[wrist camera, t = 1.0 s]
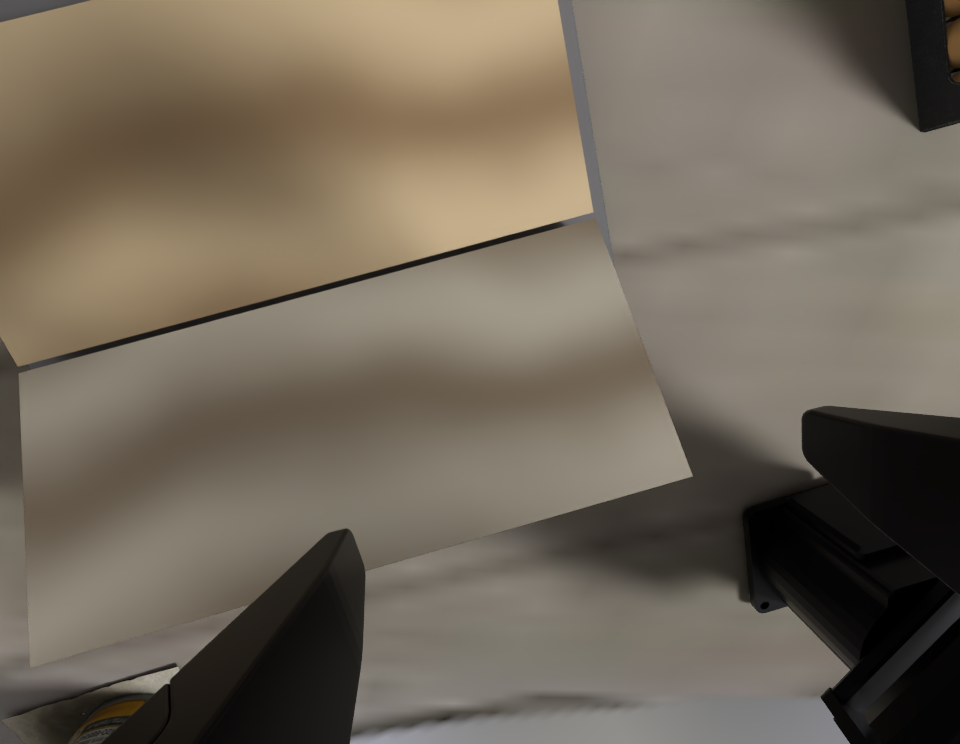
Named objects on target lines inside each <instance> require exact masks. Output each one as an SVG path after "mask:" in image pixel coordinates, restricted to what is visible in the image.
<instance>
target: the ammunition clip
mask: <svg viewBox="0 0 960 744" xmlns="http://www.w3.org/2000/svg"><path fill="white" fill-rule="evenodd" d="M906 9H907V18H908V27H909V36H910V45H911V54H912V63H913V72H914V81H915V90H916V99H917V108H918V117H919V126H920V131H921V132H928V131H932V130H935V129H939V128H943V127H946V126H950V125H954V124H957V123H960V0H906Z"/></svg>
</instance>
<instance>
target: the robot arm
mask: <svg viewBox="0 0 960 744" xmlns="http://www.w3.org/2000/svg"><path fill="white" fill-rule="evenodd" d="M802 451H803V454H804V456H805V458H806V460H807V461H808V462H809V463H810V464H811V465H812V466H813V467H814V468H815V469H816V470H817V471H818V472H819V473H820V474H821V475H822V476H823V477H824V478H825V479H826V480H827V481H828V482H829V483H830V484H827V485H824V486H821V487H817V488H814V489H810V490H807V491H804V492H800V493H797V494H793V495H790V496H786V497H783V498H780V499H776V500H773V501H769V502H766V503H762V504H759V505H756V506H752V507H750V508H748V509H747V510H746V511H745V512H744V514H743V523H744V533H745V544H746V555H747V566H748V576H749V587H750V598H751V604H752V606H753V607H754V608H755V609H756V610H757V611H758V612H759V613H766V612H770V611H773V610H776V609H780V608H783V607H786V606H788V607H789V608H790V609H791V610H792V611H793V612H794V613H795V614H796V615H797V616H798V617H799V618H800V619H801V620H802V621H803V622H804V623H805V624H806V625H807V626H808V627H809V628H810V629H811V630H812V631H813V632H814V633H815V634H816V635H817V636H818V637H819V638H820V640H821V641H822V642H823V643H824V644H825V645H826V646H827V647H828V648H829V649H830V650H831V651H832V652H833V653H834V654H835V655H836V656H837V657H838V658H839V659H840V660H841V661H842V662H843V663H844V664H845V665H846V666H847V667H848V668H849V669H850V671H849V672H848V673H847V674H846V675H845V676H844V677H843V678H842V679H841V680H840V681H839V682H838V683H837V684H836V686H835V687H834V688H833V689H832V688H828V689H827V690H826V691H825V692H824V693H823V695H822V696H821V699H822V700H823V702H824V703H825V704H826V706H827V707H828V709H829V710H830V712H831V713H832V715H833V716H834V718H833V719H834V721H835V722H836V724H837V725H838V727H839V728H840V730H841V731H842V733H843V734H844V735H845V737H846V738H847V740H848V741H849V743H850V744H960V418H956V417H945V416H934V415H923V414H912V413H901V412H890V411H880V410H869V409H858V408H847V407H836V406H822V407H818V408H815V409H811V410H808V411H806V412H805V413H804V414H803V416H802ZM755 516H756V518H754V517H755ZM364 601H365V567H364V563H363V560H362V558H361V555H360V552H359V549H358V546H357V544H356V541H355V538H354V535H353V533H352V532H351V530H350V529H348V528H345V529H341V530H337V531H333V532H329V533H327V534H326V535H325V536H324V537H323V538H321V539H320V540H319V541H318V542H317V543H316V544H315V545H314V546H313V547H312V548H311V549H310V550H309V551H307V552H306V553H305V554H304V555H303V556H302V557H301V558H300V559H299V560H298V561H297V562H296V563H295V564H294V565H292V566H291V567H290V568H289V569H288V570H287V571H286V572H285V573H284V574H283V575H282V576H281V577H280V578H278V579H277V580H276V581H275V582H274V583H273V584H272V585H271V586H270V587H269V588H268V589H267V590H266V591H264V592H263V593H262V594H261V595H260V596H259V597H258V598H257V599H256V600H255V601H254V602H253V603H252V604H251V605H249V606H248V607H247V608H246V609H245V610H244V611H243V612H242V613H241V614H240V615H239V616H238V617H237V618H235V619H234V620H233V621H232V622H231V623H230V624H229V625H228V626H227V627H226V628H225V629H224V630H223V631H222V632H220V633H219V634H218V635H217V636H216V637H215V638H214V639H213V640H212V641H211V642H210V643H209V644H208V645H206V646H205V647H204V648H203V649H202V650H201V651H200V652H199V653H198V654H197V655H196V656H195V657H194V658H193V659H191V660H190V661H189V662H188V663H187V664H186V665H185V666H184V667H183V668H182V669H181V670H180V671H179V672H177V673H176V674H175V675H174V676H173V677H172V678H171V679H170V682H169V683H170V684H165V685H163V686H162V687H161V688H160V689H159V690H158V691H157V692H156V693H155V694H154V695H153V696H152V697H150V698H149V699H148V700H147V701H146V702H145V703H144V704H143V705H142V706H141V707H140V708H139V709H138V710H136V711H135V712H134V713H133V714H132V715H131V716H130V717H129V718H128V719H127V720H125V721H124V722H123V723H122V724H121V725H120V726H119V727H118V728H117V729H116V730H114V731H113V732H112V733H111V734H110V735H109V736H108V737H107V738H106V739H104V740H103V741H102V742H101V743H100V744H350V737H351V730H352V723H353V717H354V710H355V703H356V697H357V690H358V683H359V676H360V669H361V661H362V650H363V628H364Z"/></svg>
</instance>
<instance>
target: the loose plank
mask: <svg viewBox="0 0 960 744" xmlns="http://www.w3.org/2000/svg"><path fill="white" fill-rule="evenodd" d="M19 396H20V421H21V446H22V471H23V496H24V521H25V546H26V571H27V596H28V621H29V647H30V668H32V667H35V666H38V665H42V664H45V663H49V662H52V661H56V660H59V659H63V658H66V657H70V656H73V655H77V654H80V653H83V652H87V651H90V650H94V649H97V648H101V647H104V646H108V645H111V644H115V643H118V642H122V641H125V640H128V639H132V638H135V637H139V636H142V635H146V634H149V633H153V632H156V631H160V630H163V629H166V628H170V627H173V626H177V625H180V624H184V623H187V622H191V621H194V620H198V619H201V618H205V617H208V616H211V615H215V614H218V613H222V612H225V611H229V610H232V609H236V608H239V607H243V606H246V605H250V604H252V603H253V602H254V601H255V600H256V599H257V598H258V597H259V596H260V595H261V594H262V593H263V592H264V591H266V590H267V589H268V588H269V587H270V586H271V585H272V584H273V583H274V582H275V581H276V580H277V579H278V578H280V577H281V576H282V575H283V574H284V573H285V572H286V571H287V570H288V569H289V568H290V567H291V566H292V565H294V564H295V563H296V562H297V561H298V560H299V559H300V558H301V557H302V556H303V555H304V554H305V553H306V552H307V551H309V550H310V549H311V548H312V547H313V546H314V545H315V544H316V543H317V542H318V541H319V540H320V539H321V538H323V537H324V536H325V535H326V534H327V533H329V532H333V531H337V530H341V529H345V528H348V529H350V530H351V532H352V533H353V535H354V538H355V541H356V544H357V546H358V549H359V552H360V555H361V558H362V560H363V563H364V567H365V571H367V570H371V569H374V568H378V567H381V566H384V565H388V564H391V563H395V562H398V561H402V560H405V559H409V558H412V557H416V556H419V555H422V554H426V553H429V552H433V551H436V550H440V549H443V548H447V547H450V546H454V545H457V544H461V543H464V542H467V541H471V540H474V539H478V538H481V537H485V536H488V535H492V534H495V533H499V532H502V531H506V530H509V529H512V528H516V527H519V526H523V525H526V524H530V523H533V522H537V521H540V520H544V519H547V518H550V517H554V516H557V515H561V514H564V513H568V512H571V511H575V510H578V509H582V508H585V507H589V506H592V505H595V504H599V503H602V502H606V501H609V500H613V499H616V498H620V497H623V496H627V495H630V494H634V493H637V492H640V491H644V490H647V489H651V488H654V487H658V486H661V485H665V484H668V483H672V482H675V481H678V480H682V479H685V478H689V477H692V476H693V475H692V473H691V470H690V467H689V465H688V462H687V459H686V457H685V454H684V451H683V449H682V446H681V443H680V441H679V438H678V435H677V433H676V430H675V427H674V425H673V422H672V420H671V417H670V414H669V412H668V409H667V406H666V404H665V401H664V398H663V396H662V393H661V390H660V388H659V385H658V382H657V380H656V377H655V374H654V372H653V369H652V367H651V364H650V361H649V359H648V356H647V353H646V351H645V348H644V345H643V343H642V340H641V337H640V335H639V332H638V329H637V327H636V324H635V321H634V319H633V316H632V314H631V311H630V308H629V306H628V303H627V300H626V298H625V295H624V292H623V290H622V287H621V284H620V282H619V279H618V276H617V274H616V271H615V268H614V266H613V263H612V260H611V258H610V255H609V253H608V250H607V247H606V245H605V242H604V239H603V237H602V234H601V231H600V229H599V226H598V223H597V221H596V218H594V219H590V220H586V221H583V222H579V223H575V224H572V225H568V226H564V227H560V228H557V229H553V230H549V231H546V232H542V233H538V234H534V235H531V236H527V237H523V238H520V239H516V240H512V241H508V242H505V243H501V244H497V245H494V246H490V247H486V248H482V249H479V250H475V251H471V252H467V253H464V254H460V255H456V256H453V257H449V258H445V259H441V260H438V261H434V262H430V263H427V264H423V265H419V266H415V267H412V268H408V269H404V270H401V271H397V272H393V273H389V274H386V275H382V276H378V277H375V278H371V279H367V280H363V281H360V282H356V283H352V284H348V285H345V286H341V287H337V288H334V289H330V290H326V291H322V292H319V293H315V294H311V295H308V296H304V297H300V298H296V299H293V300H289V301H285V302H282V303H278V304H274V305H270V306H267V307H263V308H259V309H256V310H252V311H248V312H244V313H241V314H237V315H233V316H229V317H226V318H222V319H218V320H215V321H211V322H207V323H203V324H200V325H196V326H192V327H189V328H185V329H181V330H177V331H174V332H170V333H166V334H163V335H159V336H155V337H151V338H148V339H144V340H140V341H137V342H133V343H129V344H125V345H122V346H118V347H114V348H110V349H107V350H103V351H99V352H96V353H92V354H88V355H84V356H81V357H77V358H73V359H70V360H66V361H62V362H58V363H55V364H51V365H47V366H44V367H40V368H36V369H32V370H29V371H25V372H21V373H19Z"/></svg>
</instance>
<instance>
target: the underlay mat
mask: <svg viewBox="0 0 960 744" xmlns="http://www.w3.org/2000/svg"><path fill="white" fill-rule="evenodd" d="M86 1H90V0H0V22H4V21H8V20H13V19H17V18H21V17H25V16H29V15H33V14H37V13H41V12H45V11H49V10H53V9H57V8H62V7H66V6H70V5H74V4H78V3H82V2H86ZM558 6H559V11H560V17H561V23H562V29H563V35H564V41H565V47H566V53H567V59H568V65H569V71H570V76H571V82H572V88H573V94H574V100H575V106H576V112H577V118H578V124H579V130H580V136H581V141H582V147H583V153H584V159H585V165H586V171H587V177H588V183H589V189H590V195H591V201H592V206H593V213H589V214H585V215H582V216H578V217H574V218H570V219H567V220H563V221H559V222H556V223H552V224H548V225H544V226H541V227H537V228H533V229H529V230H526V231H522V232H518V233H515V234H511V235H507V236H503V237H500V238H496V239H492V240H488V241H485V242H481V243H477V244H474V245H470V246H466V247H462V248H459V249H455V250H451V251H447V252H444V253H440V254H436V255H433V256H429V257H425V258H421V259H418V260H414V261H410V262H407V263H403V264H399V265H395V266H392V267H388V268H384V269H380V270H377V271H373V272H369V273H366V274H362V275H358V276H354V277H351V278H347V279H343V280H339V281H336V282H332V283H328V284H325V285H321V286H317V287H313V288H310V289H306V290H302V291H298V292H295V293H291V294H287V295H284V296H280V297H276V298H272V299H269V300H265V301H261V302H258V303H254V304H250V305H246V306H243V307H239V308H235V309H231V310H228V311H224V312H220V313H217V314H213V315H209V316H205V317H202V318H198V319H194V320H190V321H187V322H183V323H179V324H176V325H172V326H168V327H164V328H161V329H157V330H153V331H149V332H146V333H142V334H138V335H135V336H131V337H127V338H123V339H120V340H116V341H112V342H109V343H105V344H101V345H97V346H94V347H90V348H86V349H82V350H79V351H75V352H71V353H68V354H64V355H60V356H56V357H53V358H49V359H45V360H41V361H38V362H34V363H30V364H27V365H28V367H29V368H30V370H32V369H36V368H40V367H44V366H47V365H51V364H55V363H58V362H62V361H66V360H70V359H73V358H77V357H81V356H84V355H88V354H92V353H96V352H99V351H103V350H107V349H110V348H114V347H118V346H122V345H125V344H129V343H133V342H137V341H140V340H144V339H148V338H151V337H155V336H159V335H163V334H166V333H170V332H174V331H177V330H181V329H185V328H189V327H192V326H196V325H200V324H203V323H207V322H211V321H215V320H218V319H222V318H226V317H229V316H233V315H237V314H241V313H244V312H248V311H252V310H256V309H259V308H263V307H267V306H270V305H274V304H278V303H282V302H285V301H289V300H293V299H296V298H300V297H304V296H308V295H311V294H315V293H319V292H322V291H326V290H330V289H334V288H337V287H341V286H345V285H348V284H352V283H356V282H360V281H363V280H367V279H371V278H375V277H378V276H382V275H386V274H389V273H393V272H397V271H401V270H404V269H408V268H412V267H415V266H419V265H423V264H427V263H430V262H434V261H438V260H441V259H445V258H449V257H453V256H456V255H460V254H464V253H467V252H471V251H475V250H479V249H482V248H486V247H490V246H494V245H497V244H501V243H505V242H508V241H512V240H516V239H520V238H523V237H527V236H531V235H534V234H538V233H542V232H546V231H549V230H553V229H557V228H560V227H564V226H568V225H572V224H575V223H579V222H583V221H586V220H590V219H594V218H596V221H597V223H598V226H599V229H600V231H601V234H602V237H603V239H604V242H605V245H606V247H607V250H608V253H609V255H610V258H611V260H612V263H613V266H614V260H613V254H612V248H611V242H610V236H609V230H608V223H607V217H606V211H605V205H604V199H603V192H602V186H601V180H600V174H599V168H598V161H597V155H596V149H595V143H594V137H593V130H592V124H591V118H590V112H589V106H588V100H587V93H586V87H585V81H584V75H583V69H582V62H581V56H580V50H579V44H578V38H577V31H576V25H575V19H574V13H573V7H572V0H558ZM614 268H615V267H614Z"/></svg>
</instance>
